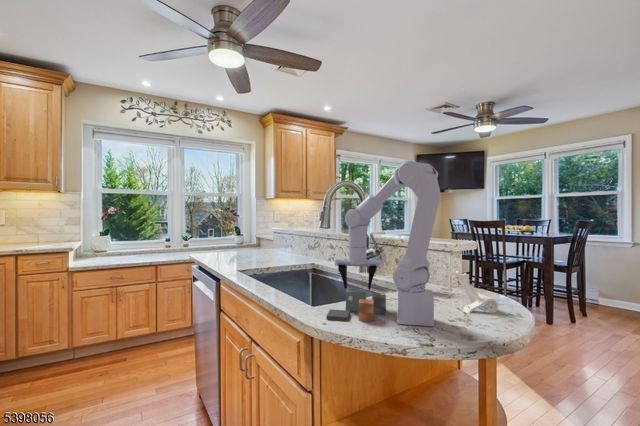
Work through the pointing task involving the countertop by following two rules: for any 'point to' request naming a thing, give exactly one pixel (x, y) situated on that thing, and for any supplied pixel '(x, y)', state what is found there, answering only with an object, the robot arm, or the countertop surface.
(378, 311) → the slate block
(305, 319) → the countertop surface
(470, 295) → the plastic part
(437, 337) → the countertop surface
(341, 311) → the mat
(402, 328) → the countertop surface
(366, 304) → the terracotta block
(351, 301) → the box
